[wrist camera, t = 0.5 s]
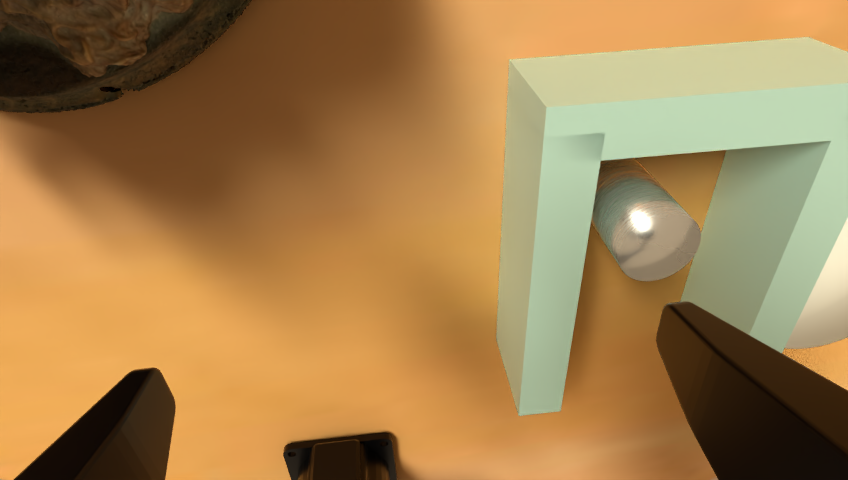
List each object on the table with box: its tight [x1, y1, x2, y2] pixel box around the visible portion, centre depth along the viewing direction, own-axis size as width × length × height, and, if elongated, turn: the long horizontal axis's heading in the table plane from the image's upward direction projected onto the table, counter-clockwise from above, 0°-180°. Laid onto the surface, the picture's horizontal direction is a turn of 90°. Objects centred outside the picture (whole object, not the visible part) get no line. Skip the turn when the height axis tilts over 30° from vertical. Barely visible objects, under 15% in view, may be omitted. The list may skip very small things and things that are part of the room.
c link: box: [496, 37, 848, 416], centre depth 23 cm, size 15×12×5 cm
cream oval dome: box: [785, 218, 848, 349], centre depth 29 cm, size 10×10×1 cm
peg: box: [591, 158, 701, 281], centre depth 22 cm, size 3×3×6 cm
